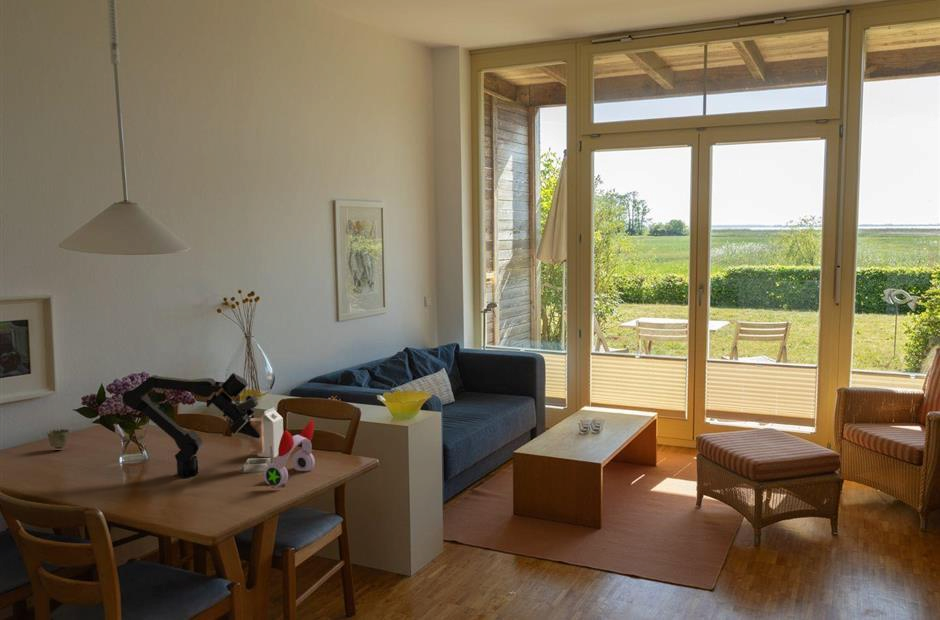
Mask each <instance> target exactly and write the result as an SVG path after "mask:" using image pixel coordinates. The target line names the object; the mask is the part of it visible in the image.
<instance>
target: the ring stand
mask: <svg viewBox="0 0 940 620" xmlns="http://www.w3.org/2000/svg"><path fill="white" fill-rule="evenodd" d="M274 459H275V457H274V449H273V446H270V457H264V458H263V457H262V458H247V460H246V461H245V463H244V464H243V466H242V467H238V468H236V469H233V470H232V471H233V472H239V473H244V474H250V475H254V476H261V475H264V471H265V469H266V468H267V466H268V465H269V464H271V463H274V462H275V460H274Z"/></svg>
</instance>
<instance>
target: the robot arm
mask: <svg viewBox="0 0 940 620" xmlns="http://www.w3.org/2000/svg"><path fill="white" fill-rule="evenodd" d="M248 386H249V384H248V382H247V381H246V380H245V379H244V378H243V377H242V376H240V375H237V374H236V373H235V372H232V373H231V374H230V375H229V376H228V378H227V379H226V380H225V381H224V382H223V381H217V380H216V381H215V379H214V378H211V377H207V378H206V377H203V378H202V377H201V378H193V379H187V378H177V377H168V376H159V375H156V374H155V375H154V374H153V375H151V376H149V377H147V378H146V380H144V381H143V382H142V383H140V384H139V385H138V386H133V387H132V388H130V389H128V390H126V391H125V392H124V393H123V395H122V399H121V400H122V403H123V404H124V405H125V406H127V407H128V408H130V409H132V410H133V411H137V412H139V413H142V414H143V415H144V416H145V417H147V418H148V419H149V420H150V421H151V422H153V423H154V424H155V425H156V426H158V427H159V428H160V429H161V430H162V431H163V432H164V433H166V434H167V435H168V436H169V437H170V438H172V439H173V441H174V442H175V445H176V446H177V448H178V449H179V451H178V452H177V453H176V454H175V455H174V458H175V460H176V472H177V473H174V475H173V476H174V477H177V478H184V479H189V478H191V477H195V476H197V475H198V473H199V464H198V463H199V460H198V456H196V455H197V454H198V452H199V451H200V450H201V449H202V446H203V439H202V438H201V434H198V433H197V432H196V431H195V430H194V429H193V428H191V429H189V430H185V429H184V428H182V427H181V426H180V425H179V424H177V422H175V421H174V420H173V419H172V418H170V416H168V415H167V414H165V413H164V411H162V410H161V409H160V408H159V407H157V406H156V405H155V404H154V403H153V402H152V400H151V398H150V396H149V395H148V393H150V392H151V391H152V390H153V389H163V390H170V391H180V392H188V393H190V394H192V395H195V396H198V397H203V398H206V399H205V400H206V401H205V402H206V408H209V407H210V406H211V405H214V407H215V408H217V410H219V412H221V413H222V416H223V417H224V418H226V417H227V418H228V419H229V420H230V421H231V425H230V426H229V432H231V433H232V434H233V435H235V434H236V433H238V434H242V435H245V436H248V437H249V436H252V437H255V438H259V437H260V435H259V434H258V432H257V431H256V430H255V429H254V428H253V426H252V425H251V418H256V414H255V412H256V409H255V408H256V407H257V406H258V405H259V402H258V399H257V397H256V396H254V395H252V394H249V395H246V397H245V400H244V401H241V402H240V401H239V400H236V401H235V400H234V399H233V397H235V398H237V397H238V396H239V395H240V394H241V393H242V391H244V390H245V389H246V388H247V387H248ZM220 390H221V391H220ZM218 392H219V393H218ZM211 395H212V396H211ZM208 397H209V398H208Z"/></svg>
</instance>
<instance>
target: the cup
mask: <svg viewBox="0 0 940 620" xmlns="http://www.w3.org/2000/svg"><path fill="white" fill-rule="evenodd" d="M47 438H48V442H49V445H50V447H52V448H53V450H54V449H62V448H64V449H65V447H66V446H67V443H68V442H69V429H65V428H63V429H62V428H61V429H60V430H59V429H57V430H56V429H52V430H49V431H47Z"/></svg>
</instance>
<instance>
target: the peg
mask: <svg viewBox="0 0 940 620" xmlns="http://www.w3.org/2000/svg"><path fill="white" fill-rule="evenodd" d="M251 425H252V426H253V428H254V429H255V430H256V431H257V432H258V434H259V435H260V437H259V438H255V437H252V436H249V435H248V447H249V455H258V454H263V452H264V423H263V418H261V417H255V418H251Z"/></svg>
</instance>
